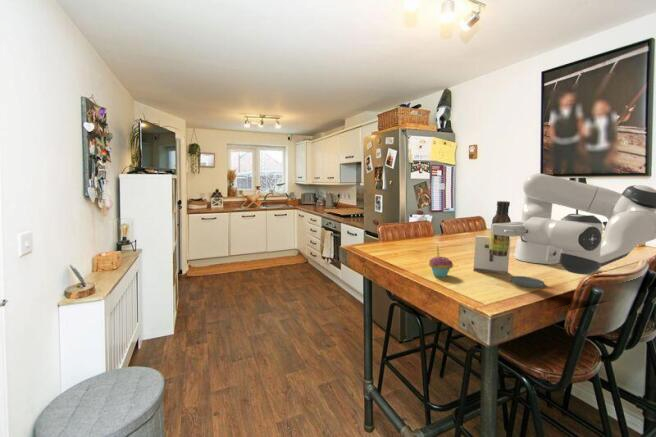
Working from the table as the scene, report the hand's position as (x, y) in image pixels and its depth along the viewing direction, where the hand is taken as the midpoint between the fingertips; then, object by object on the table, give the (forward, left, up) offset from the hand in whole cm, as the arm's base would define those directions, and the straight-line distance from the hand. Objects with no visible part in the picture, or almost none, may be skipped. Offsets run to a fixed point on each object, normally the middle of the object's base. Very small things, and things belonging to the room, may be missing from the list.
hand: (500, 225), depth 117 cm
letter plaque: (-5, -7, -20) cm, 21 cm away
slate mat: (-5, +8, -20) cm, 22 cm away
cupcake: (+17, -11, -20) cm, 28 cm away
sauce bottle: (0, 0, -11) cm, 11 cm away
